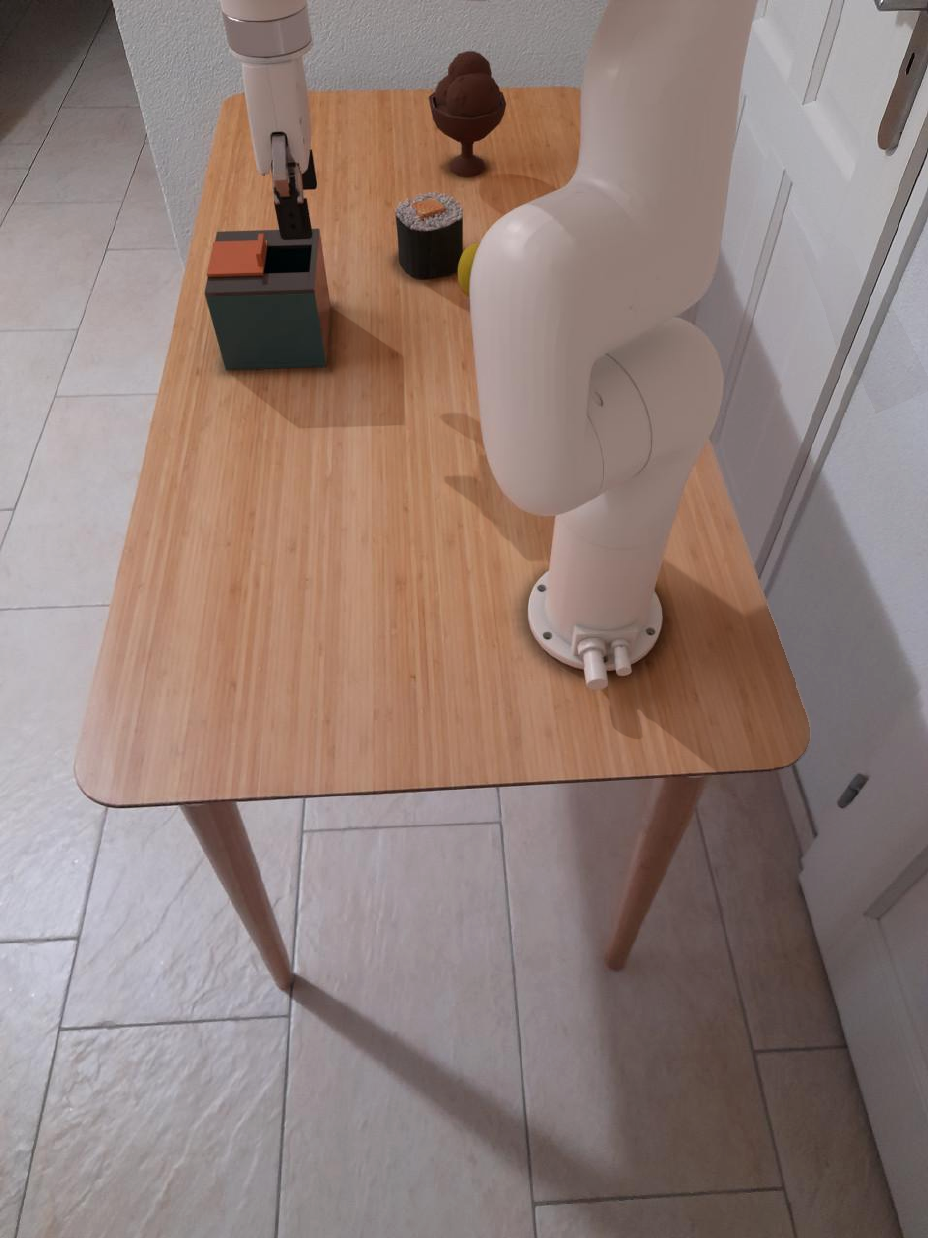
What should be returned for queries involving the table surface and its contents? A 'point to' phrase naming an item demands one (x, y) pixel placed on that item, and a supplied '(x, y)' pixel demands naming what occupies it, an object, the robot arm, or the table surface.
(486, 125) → the ice cream bowl
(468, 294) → the lemon
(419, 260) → the sushi
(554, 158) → the table surface
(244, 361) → the sliding lid box
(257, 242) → the slider
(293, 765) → the table surface
